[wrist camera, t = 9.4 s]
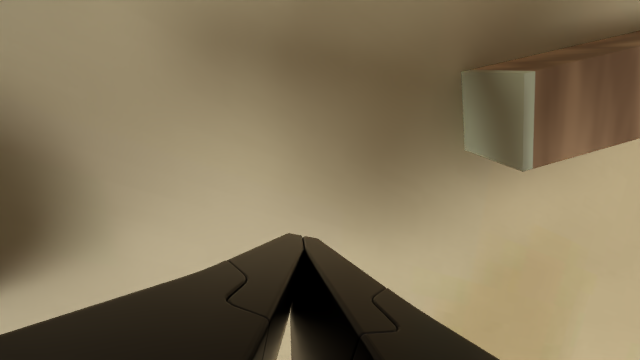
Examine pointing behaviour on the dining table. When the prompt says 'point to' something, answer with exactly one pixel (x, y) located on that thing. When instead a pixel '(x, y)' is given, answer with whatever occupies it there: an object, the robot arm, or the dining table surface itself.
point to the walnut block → (554, 103)
